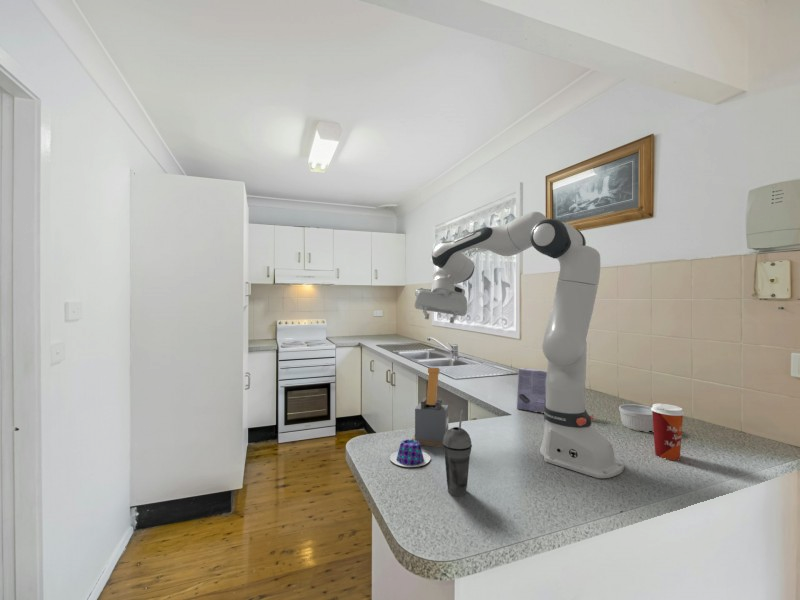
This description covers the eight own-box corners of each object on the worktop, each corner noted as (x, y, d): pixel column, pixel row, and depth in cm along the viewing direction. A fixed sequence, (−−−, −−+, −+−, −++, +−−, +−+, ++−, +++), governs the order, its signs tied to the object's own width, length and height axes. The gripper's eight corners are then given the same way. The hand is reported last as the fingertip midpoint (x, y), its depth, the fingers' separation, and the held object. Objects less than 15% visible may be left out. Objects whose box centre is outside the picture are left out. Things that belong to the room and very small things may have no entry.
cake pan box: (566, 414, 150) (566, 371, 150) (564, 417, 146) (564, 373, 146) (519, 406, 160) (519, 367, 160) (516, 409, 156) (516, 368, 156)
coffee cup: (675, 464, 104) (675, 412, 104) (645, 453, 111) (645, 405, 111) (690, 458, 108) (690, 408, 108) (660, 448, 115) (660, 401, 115)
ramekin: (622, 431, 131) (622, 411, 131) (616, 419, 143) (616, 402, 143) (666, 436, 126) (666, 416, 126) (656, 424, 138) (656, 406, 138)
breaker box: (417, 435, 126) (417, 395, 126) (451, 438, 123) (451, 397, 123) (411, 443, 118) (411, 401, 118) (448, 447, 115) (448, 404, 115)
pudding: (435, 455, 110) (435, 438, 110) (423, 472, 99) (423, 453, 99) (399, 449, 115) (399, 432, 115) (383, 465, 104) (383, 447, 104)
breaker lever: (426, 407, 120) (429, 369, 126) (436, 408, 119) (439, 369, 125) (424, 406, 118) (428, 367, 124) (435, 407, 117) (438, 367, 123)
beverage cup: (439, 484, 92) (439, 406, 92) (467, 483, 93) (467, 405, 93) (445, 499, 85) (445, 415, 85) (475, 498, 86) (475, 414, 86)
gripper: (417, 282, 141) (412, 311, 133) (469, 290, 140) (467, 320, 132) (415, 292, 146) (411, 320, 138) (465, 300, 145) (464, 329, 137)
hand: (439, 320), depth 135 cm, fingers open, 8 cm apart
